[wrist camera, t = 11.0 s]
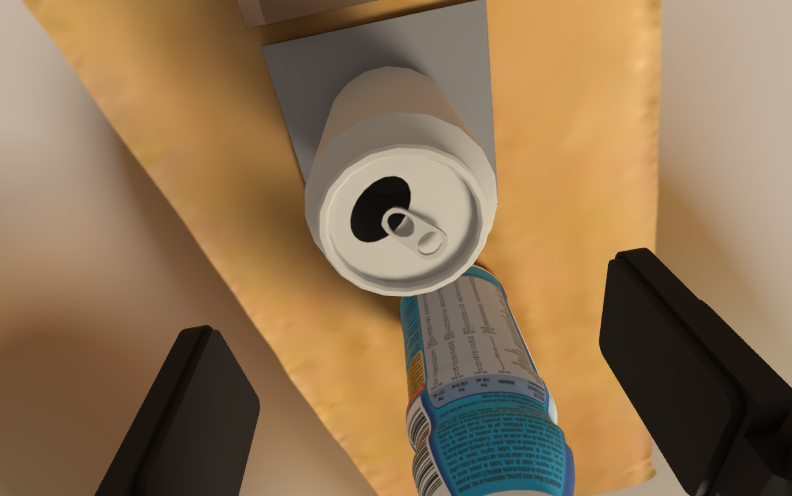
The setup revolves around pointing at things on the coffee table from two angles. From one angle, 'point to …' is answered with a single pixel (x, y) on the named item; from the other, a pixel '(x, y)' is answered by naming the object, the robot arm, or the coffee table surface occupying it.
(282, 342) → the coffee table surface
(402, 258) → the can
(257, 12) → the wooden picture frame
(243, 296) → the coffee table surface
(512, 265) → the coffee table surface
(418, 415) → the beverage bottle
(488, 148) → the mat
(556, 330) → the coffee table surface
